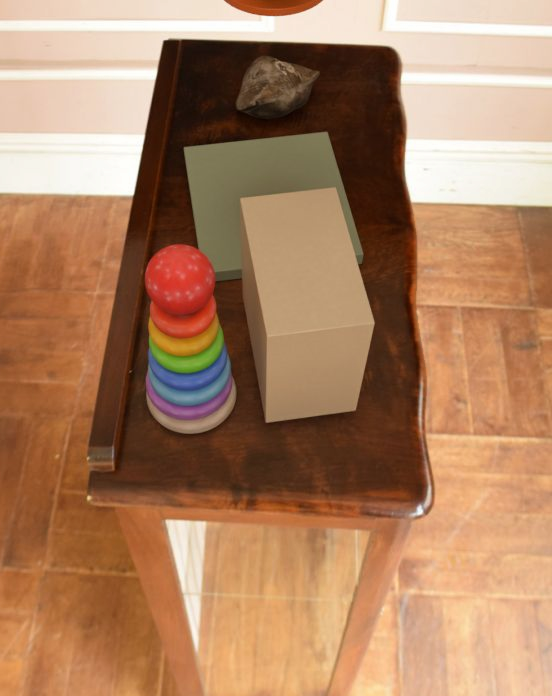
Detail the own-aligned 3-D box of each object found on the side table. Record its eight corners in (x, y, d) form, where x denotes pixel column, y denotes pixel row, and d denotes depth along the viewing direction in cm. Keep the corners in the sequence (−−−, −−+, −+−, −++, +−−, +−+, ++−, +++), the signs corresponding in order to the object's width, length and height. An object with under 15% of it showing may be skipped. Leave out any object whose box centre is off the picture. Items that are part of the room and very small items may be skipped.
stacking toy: (228, 443, 67) (219, 313, 51) (138, 431, 68) (101, 298, 52) (243, 367, 71) (239, 225, 55) (158, 356, 72) (130, 213, 56)
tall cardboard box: (326, 292, 76) (338, 186, 64) (357, 416, 68) (378, 322, 57) (242, 302, 75) (239, 197, 63) (265, 428, 68) (266, 336, 56)
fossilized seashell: (251, 125, 85) (331, 114, 88) (246, 59, 82) (329, 50, 85) (225, 119, 91) (301, 109, 94) (220, 58, 88) (298, 50, 92)
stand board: (326, 141, 87) (327, 131, 86) (362, 263, 78) (363, 254, 76) (184, 157, 86) (183, 146, 85) (203, 283, 76) (202, 273, 75)
